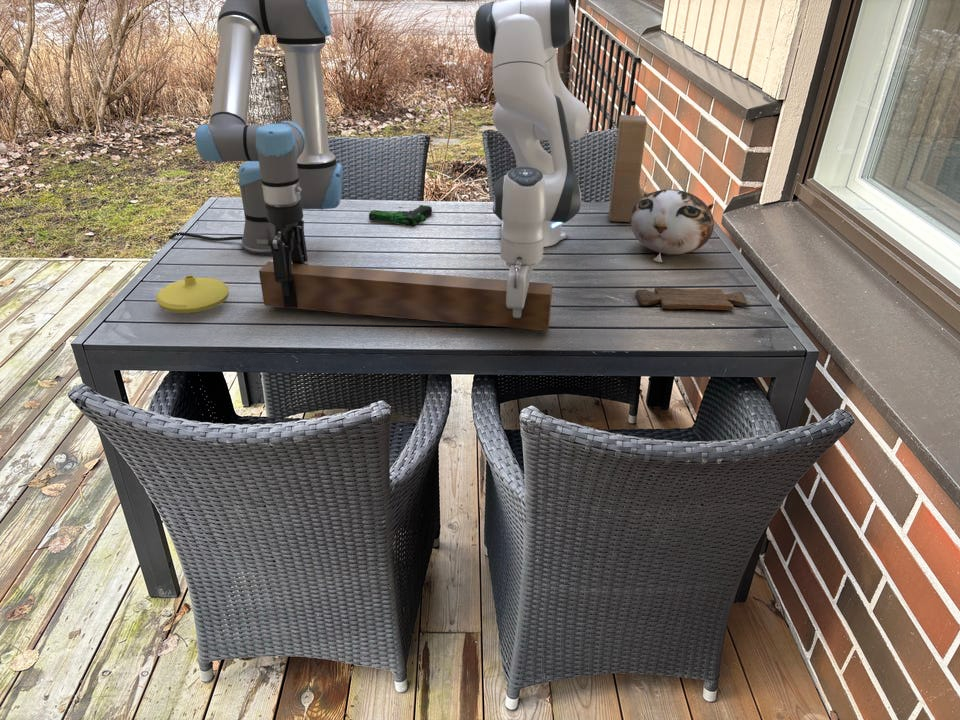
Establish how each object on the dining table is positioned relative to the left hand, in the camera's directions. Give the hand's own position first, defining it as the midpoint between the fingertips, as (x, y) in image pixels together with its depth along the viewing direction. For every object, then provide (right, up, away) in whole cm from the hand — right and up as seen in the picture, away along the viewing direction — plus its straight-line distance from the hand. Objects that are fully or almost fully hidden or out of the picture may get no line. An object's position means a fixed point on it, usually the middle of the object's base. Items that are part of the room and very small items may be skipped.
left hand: (296, 300), depth 163 cm
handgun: (+19, +29, +54) cm, 65 cm away
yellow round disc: (-24, -1, +2) cm, 24 cm away
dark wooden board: (+92, 0, +7) cm, 92 cm away
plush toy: (+93, +16, +34) cm, 100 cm away
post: (+25, -3, -3) cm, 26 cm away
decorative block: (+89, +29, +56) cm, 109 cm away
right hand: (+50, -2, -8) cm, 51 cm away
